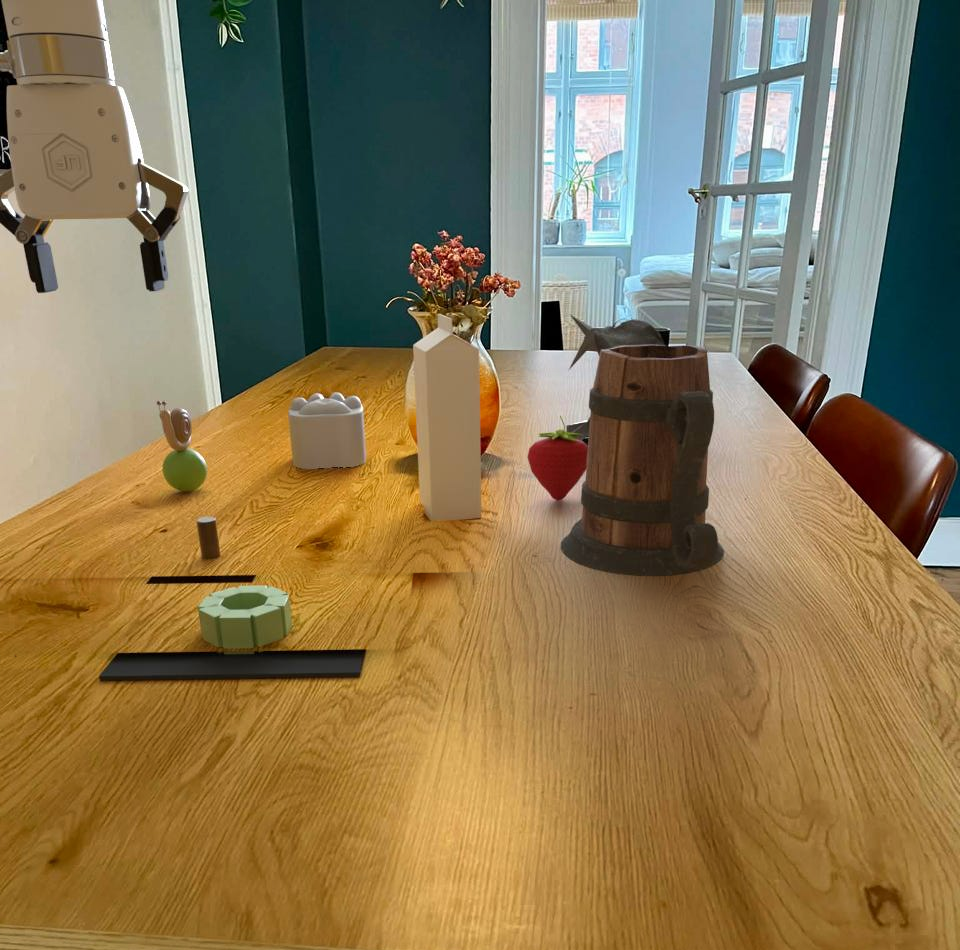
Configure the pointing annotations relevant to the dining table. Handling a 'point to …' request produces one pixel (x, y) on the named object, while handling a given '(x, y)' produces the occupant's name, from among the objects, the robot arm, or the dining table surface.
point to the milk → (448, 424)
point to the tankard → (647, 464)
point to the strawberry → (558, 461)
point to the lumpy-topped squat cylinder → (327, 432)
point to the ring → (245, 617)
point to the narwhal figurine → (609, 338)
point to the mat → (234, 665)
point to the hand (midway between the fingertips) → (102, 290)
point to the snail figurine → (181, 452)
